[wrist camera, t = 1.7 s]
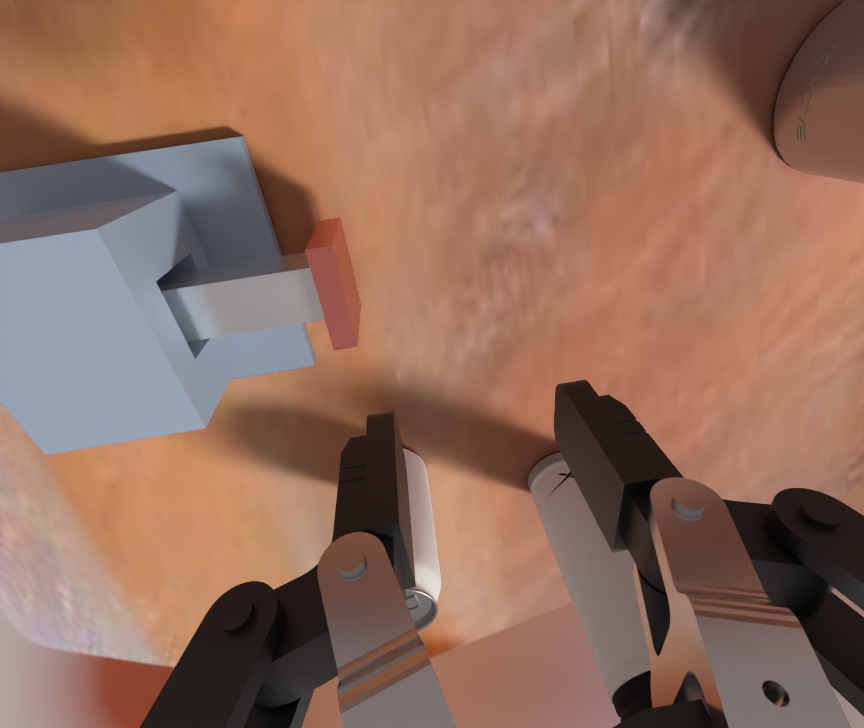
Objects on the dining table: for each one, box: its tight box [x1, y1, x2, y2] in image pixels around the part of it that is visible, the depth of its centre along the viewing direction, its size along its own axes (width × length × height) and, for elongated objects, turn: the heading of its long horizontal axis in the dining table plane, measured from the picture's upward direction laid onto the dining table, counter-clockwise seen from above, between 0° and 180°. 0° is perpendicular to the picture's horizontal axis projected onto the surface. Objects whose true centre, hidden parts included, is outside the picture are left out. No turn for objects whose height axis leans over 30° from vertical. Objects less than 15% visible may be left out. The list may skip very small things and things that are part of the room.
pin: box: [156, 218, 361, 350], centre depth 22 cm, size 13×5×5 cm, turn 97°
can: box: [403, 448, 441, 632], centre depth 31 cm, size 6×6×12 cm
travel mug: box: [528, 452, 653, 722], centre depth 30 cm, size 6×7×20 cm
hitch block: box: [0, 136, 316, 455], centre depth 22 cm, size 16×14×9 cm
